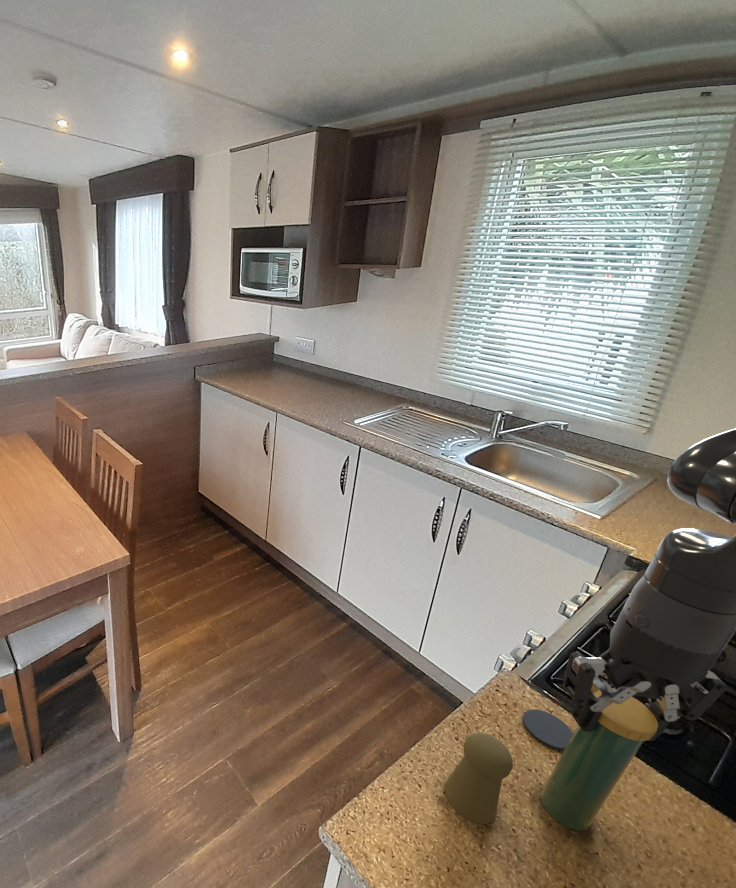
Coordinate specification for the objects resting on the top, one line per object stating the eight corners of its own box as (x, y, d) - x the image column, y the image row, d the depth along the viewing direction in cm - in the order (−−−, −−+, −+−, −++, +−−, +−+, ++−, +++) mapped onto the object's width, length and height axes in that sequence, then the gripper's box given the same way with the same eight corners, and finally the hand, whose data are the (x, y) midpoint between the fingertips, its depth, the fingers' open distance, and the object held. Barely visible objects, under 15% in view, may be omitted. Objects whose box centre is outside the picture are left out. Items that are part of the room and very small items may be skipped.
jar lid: (586, 686, 60) (590, 678, 60) (650, 714, 57) (656, 705, 56) (585, 720, 56) (590, 711, 56) (655, 752, 53) (661, 743, 52)
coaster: (558, 714, 76) (559, 712, 76) (584, 754, 71) (585, 751, 70) (514, 708, 78) (515, 706, 77) (535, 746, 72) (536, 744, 72)
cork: (499, 797, 66) (524, 745, 61) (491, 835, 61) (516, 781, 57) (449, 767, 69) (469, 715, 65) (438, 800, 65) (458, 748, 61)
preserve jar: (574, 791, 66) (630, 696, 58) (599, 834, 61) (664, 737, 53) (532, 784, 67) (582, 689, 59) (553, 826, 62) (610, 729, 54)
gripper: (721, 605, 53) (656, 709, 59) (573, 591, 55) (527, 693, 62) (792, 661, 46) (709, 771, 53) (620, 642, 48) (563, 749, 55)
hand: (611, 728), depth 57 cm, fingers closed on jar lid, 6 cm apart
